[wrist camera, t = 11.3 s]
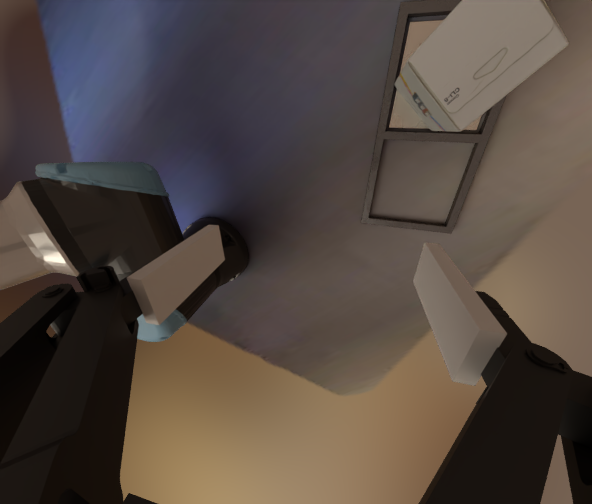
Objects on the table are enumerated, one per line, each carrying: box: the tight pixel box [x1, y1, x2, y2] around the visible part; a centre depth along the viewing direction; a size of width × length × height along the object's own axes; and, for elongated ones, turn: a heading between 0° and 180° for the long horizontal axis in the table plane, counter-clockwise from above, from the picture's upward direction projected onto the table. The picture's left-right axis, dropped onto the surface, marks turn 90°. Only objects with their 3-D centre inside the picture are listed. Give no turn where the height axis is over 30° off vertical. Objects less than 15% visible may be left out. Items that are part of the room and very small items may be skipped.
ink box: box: [394, 0, 569, 132], centre depth 23 cm, size 9×9×12 cm
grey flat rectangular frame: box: [361, 0, 506, 234], centre depth 31 cm, size 14×27×1 cm, turn 178°
